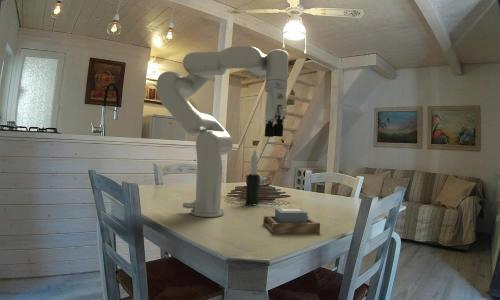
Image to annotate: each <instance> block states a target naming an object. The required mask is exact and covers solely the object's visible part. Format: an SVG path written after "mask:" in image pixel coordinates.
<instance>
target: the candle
mask: <svg viewBox="0 0 500 300" xmlns="http://www.w3.org/2000/svg"><path fill="white" fill-rule="evenodd" d="M250 159H251V160H250V161H251V162H250V173H249V174H248V175H247V176H246V193H245V194H246V195H245V205H248V204H257V205H259V201H260V200H259V199H260V185H261V184H260V181H261V176H260V175H259V174H258V159H259V157H258V155H257V149H254V150H253V154H252V155H251V158H250Z"/></svg>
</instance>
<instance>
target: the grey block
mask: <svg viewBox="0 0 500 300" xmlns="http://www.w3.org/2000/svg"><path fill="white" fill-rule="evenodd" d="M274 216H275V221H276V222H277V223H307V216H308V211H305V210H303V209H302V208H290V207H289V208H282V207H281V208H280V207H278V208H274Z"/></svg>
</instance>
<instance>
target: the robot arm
mask: <svg viewBox="0 0 500 300" xmlns="http://www.w3.org/2000/svg"><path fill="white" fill-rule="evenodd" d="M182 66H183V68H184V70H185V71H186V72H187V73H188V74H187V75H186V76H185V75H183V74H180V73H178V72H175V71H170V70H169V71H164V72H161V74H160V75H158V78H157V80H156V94H157V97H158V99H159V102H160V103H161V104H162V106H163V107H164V108H165V109H166V110H167V111H168V112H169V113H170V114H171V116H172V117H173V118H174V119H175V121H176V122H177V123H178V124H179V125H180V126H181V127H182V129H184V131H185V132H186V134H188V135H190V136H196V140H195V151H196V181H195V182H196V184H195V185H196V186H195V199H194V200H193V201H191V202H182V208H183V209H190V214H191V215H193V216H196V217H199V218H200V217H202V218H217V217H221V216H223V215H225V210H224V209H222V208H221V201H222V197H221V196H222V186H223V185H222V184H223V183H222V181H223V180H222V179H223V161H222V156H225V155H227V154H229V153H231V151H232V150H233V146H234V142H233V138H232V137H231V135H230V133H229V132H228V131H227V130H226V129H225V128H224V127H223V125H221V123H220V122H218V120H217V119H216V118H215V117H214V116H212V115H210V114H208V113H204V112H201V111H199V110H198V109H196V108H195V107H194V106H193V105H192V104H191V102H190V101H189V100H188V99H187V98H190V97H192V96H193V95H195V94H196V93H197V92H198V91H200V89H201V88H202V87H203V86H204V85H205V84H206V83H207V82H208V81H210V80H211V78H212V77H213V76H223V75H225V74H226V72H227V71H228V70H230V69H246V70H247V71H248V72H250V73H251V74H253V75H254V76H259V77H260V76H265V87H264V91H265V92H266V97H265V98H266V99H265V101H266V102H265V113H264V116H265V117H264V118H265V122H264V125H265V126H264V127H265V128H264V137H265V138H267V137H268V138H274V137H280V138H281V137H283V136H284V135H283V134H284V123H285V122H284V120H285V119H286V118H287V90H288V71H289V53H288V52H287V51H286V50H282V49H272V50H270V51H268V52H267V54H265V53H263V52H262V51H261V50H260V49H259V48H257V47H255V46H249V45H245V46H244V45H240V46H239V45H237V46H230V47H227V48H225V49H222V50H221V51H194V52H189V53H187V54H186V55H185V56H184V57H183V60H182Z"/></svg>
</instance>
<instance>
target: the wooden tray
mask: <svg viewBox="0 0 500 300" xmlns="http://www.w3.org/2000/svg"><path fill="white" fill-rule="evenodd" d="M262 225H263V226H264V227H265V228H266V229H267V230H268V231H269V232H270V233H271V234H272V235H273V234H274V235H275V234H277V235H278V234H310V233H311V234H319V233H321V231H320V230H321V222H316V221H314V220H312V219H311V218H309V215H307V223H277V222H276V221H275V215H263V223H262Z"/></svg>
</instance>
